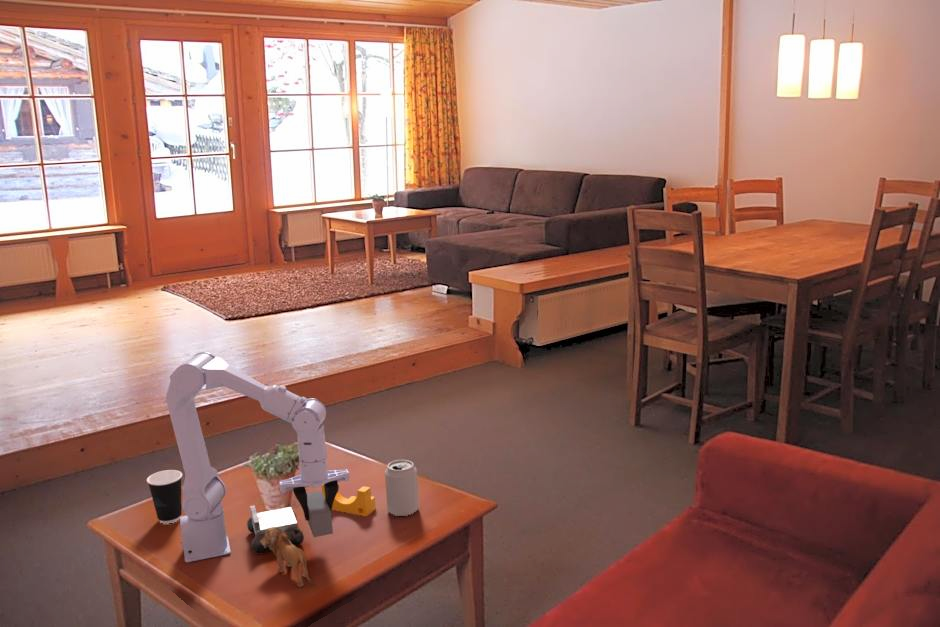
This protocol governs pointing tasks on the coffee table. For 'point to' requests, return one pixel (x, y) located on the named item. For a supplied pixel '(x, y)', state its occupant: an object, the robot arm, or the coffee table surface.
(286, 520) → the trolley
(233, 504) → the coffee table surface
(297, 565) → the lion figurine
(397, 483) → the can
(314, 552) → the coffee table surface
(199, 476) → the robot arm
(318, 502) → the block
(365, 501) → the pipe clamp
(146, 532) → the coffee table surface
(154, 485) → the dixie cup
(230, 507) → the coffee table surface
